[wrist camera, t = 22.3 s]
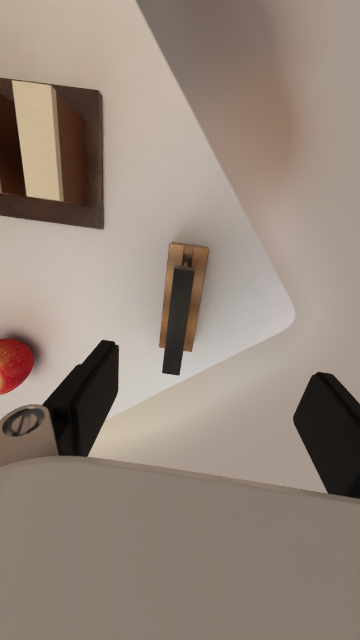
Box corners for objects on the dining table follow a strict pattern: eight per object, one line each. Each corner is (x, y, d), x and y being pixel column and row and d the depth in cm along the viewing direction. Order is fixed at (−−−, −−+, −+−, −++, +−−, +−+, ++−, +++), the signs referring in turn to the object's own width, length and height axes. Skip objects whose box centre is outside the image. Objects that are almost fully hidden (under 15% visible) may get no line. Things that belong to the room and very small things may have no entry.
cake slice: (52, 113, 25) (11, 79, 19) (83, 117, 25) (50, 84, 19) (59, 203, 28) (26, 196, 23) (86, 206, 28) (59, 200, 22)
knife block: (171, 242, 30) (169, 243, 27) (207, 247, 30) (209, 248, 27) (161, 338, 36) (158, 347, 33) (191, 342, 36) (191, 352, 33)
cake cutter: (180, 256, 30) (173, 268, 20) (194, 258, 30) (194, 271, 20) (171, 333, 35) (162, 373, 25) (183, 335, 35) (179, 375, 25)
